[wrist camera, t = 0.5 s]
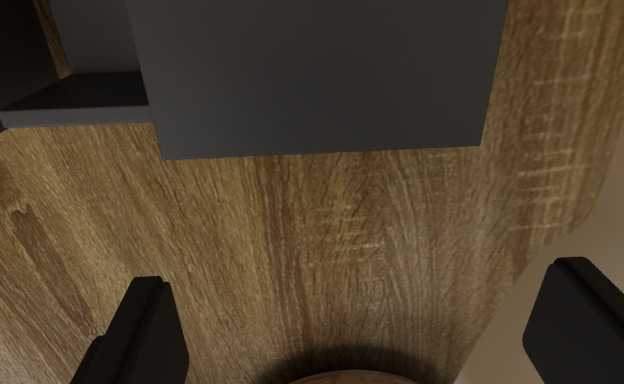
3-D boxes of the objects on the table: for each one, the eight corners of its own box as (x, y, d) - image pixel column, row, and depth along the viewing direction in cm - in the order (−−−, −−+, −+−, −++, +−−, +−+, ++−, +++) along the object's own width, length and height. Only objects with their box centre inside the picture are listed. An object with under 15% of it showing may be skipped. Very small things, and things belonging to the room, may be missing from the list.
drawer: (-28, 99, 23) (-157, 153, 17) (-131, -121, 18) (-377, -173, 12) (254, 88, 24) (241, 136, 17) (233, -131, 19) (200, -185, 12)
